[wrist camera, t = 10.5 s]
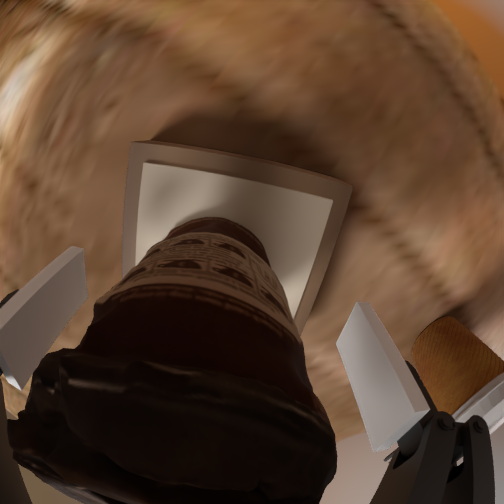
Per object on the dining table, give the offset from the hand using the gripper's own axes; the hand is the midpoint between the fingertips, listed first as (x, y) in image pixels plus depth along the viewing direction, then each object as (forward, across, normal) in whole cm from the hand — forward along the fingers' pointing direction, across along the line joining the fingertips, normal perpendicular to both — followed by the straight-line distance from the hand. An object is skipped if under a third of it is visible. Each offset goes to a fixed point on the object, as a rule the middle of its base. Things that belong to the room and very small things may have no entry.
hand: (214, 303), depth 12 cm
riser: (+7, 0, 0) cm, 7 cm away
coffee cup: (+4, 0, 0) cm, 4 cm away
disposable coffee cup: (+7, +23, -6) cm, 25 cm away
